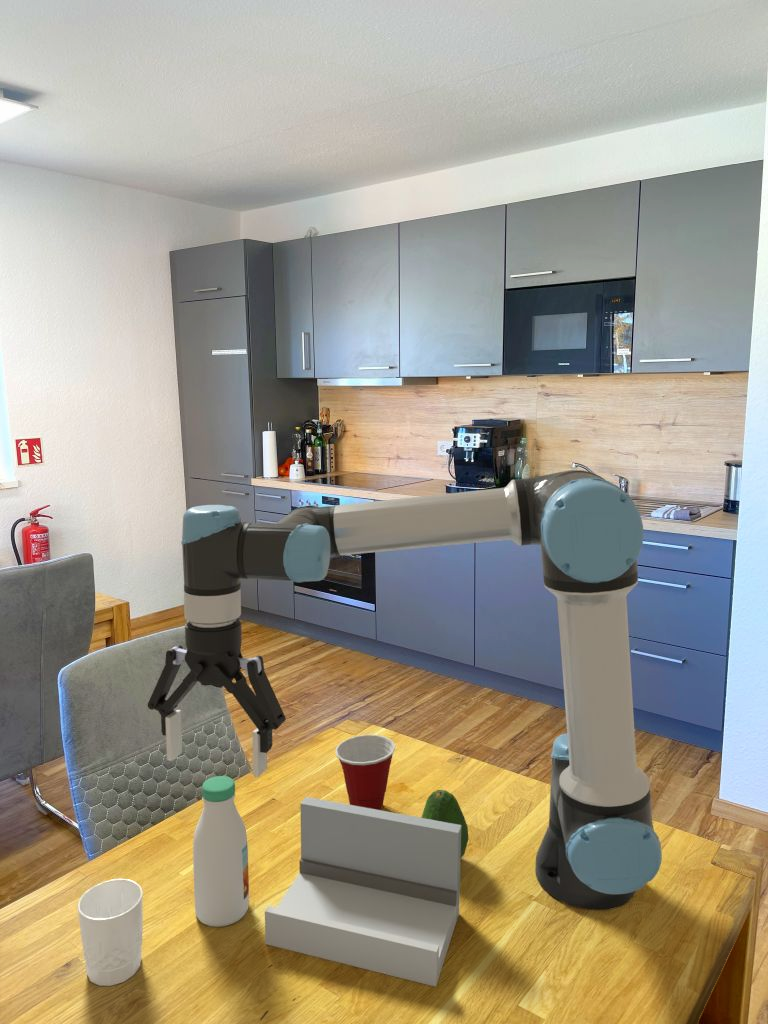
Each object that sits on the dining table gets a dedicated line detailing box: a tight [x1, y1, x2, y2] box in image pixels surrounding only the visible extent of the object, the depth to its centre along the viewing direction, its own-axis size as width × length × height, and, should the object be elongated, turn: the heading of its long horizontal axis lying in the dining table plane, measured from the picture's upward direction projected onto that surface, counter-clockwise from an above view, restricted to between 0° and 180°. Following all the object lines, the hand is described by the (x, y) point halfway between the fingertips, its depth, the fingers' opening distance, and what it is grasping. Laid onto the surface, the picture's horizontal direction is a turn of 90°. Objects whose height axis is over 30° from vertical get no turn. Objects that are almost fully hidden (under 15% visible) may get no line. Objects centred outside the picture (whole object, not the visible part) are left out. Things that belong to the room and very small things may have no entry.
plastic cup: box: [334, 734, 396, 811], centre depth 135 cm, size 11×11×12 cm
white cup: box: [77, 878, 144, 987], centre depth 98 cm, size 8×8×10 cm
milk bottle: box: [192, 775, 250, 928], centre depth 108 cm, size 8×8×20 cm
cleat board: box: [264, 796, 462, 988], centre depth 105 cm, size 24×14×14 cm, turn 72°
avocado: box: [421, 789, 469, 860], centre depth 120 cm, size 8×8×12 cm
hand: (216, 764), depth 106 cm, fingers open, 13 cm apart
